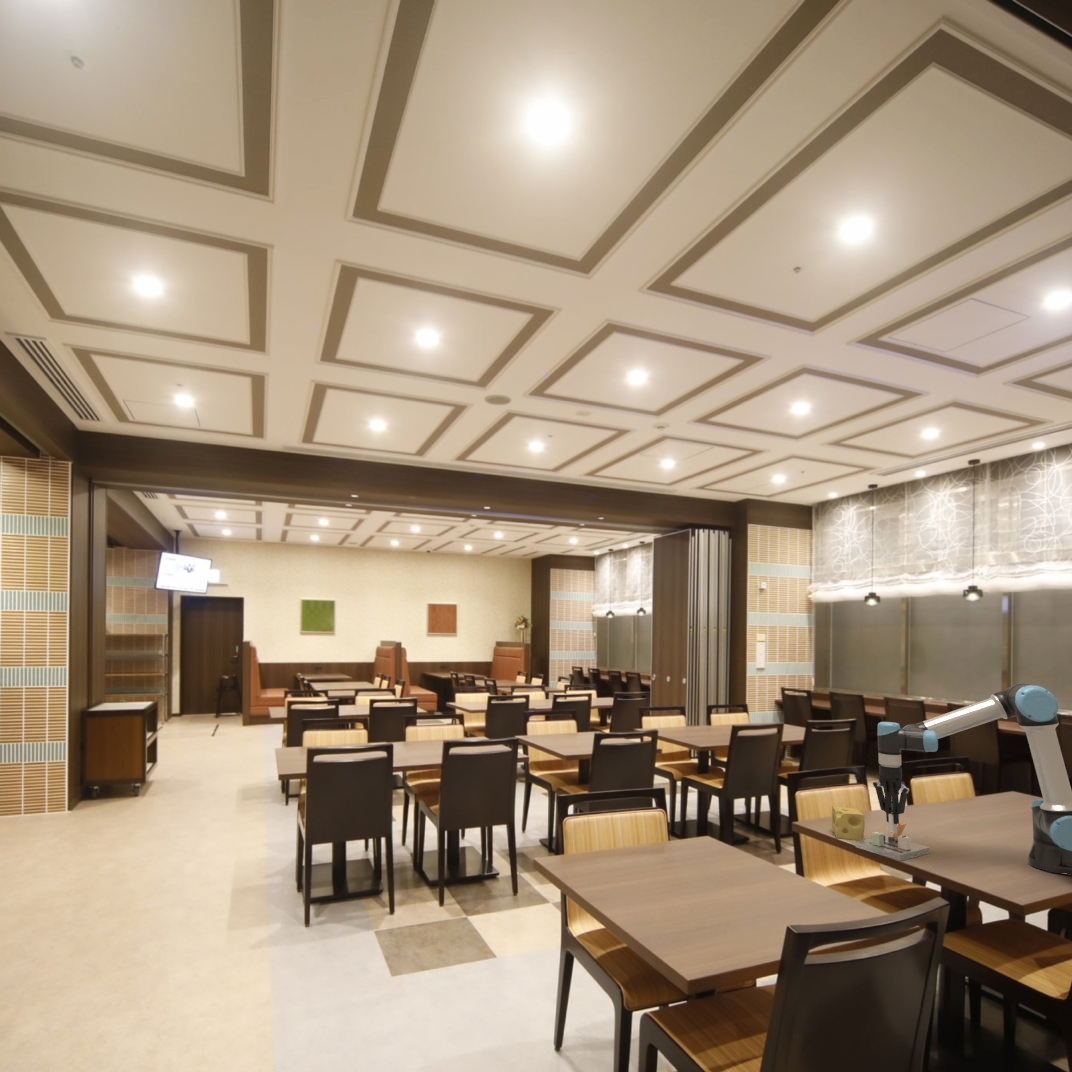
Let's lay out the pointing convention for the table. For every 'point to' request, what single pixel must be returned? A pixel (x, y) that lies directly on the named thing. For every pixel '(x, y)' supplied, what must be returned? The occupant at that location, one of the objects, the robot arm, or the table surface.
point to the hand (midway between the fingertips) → (893, 832)
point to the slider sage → (877, 838)
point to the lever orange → (899, 831)
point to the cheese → (847, 823)
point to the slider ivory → (904, 842)
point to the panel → (893, 849)
